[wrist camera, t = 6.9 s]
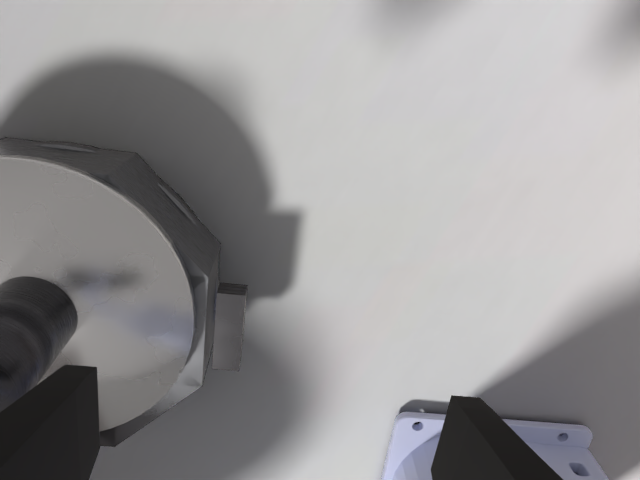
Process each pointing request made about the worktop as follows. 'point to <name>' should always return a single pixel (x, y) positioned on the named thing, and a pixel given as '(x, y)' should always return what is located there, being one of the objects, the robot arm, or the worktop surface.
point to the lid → (88, 288)
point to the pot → (196, 250)
